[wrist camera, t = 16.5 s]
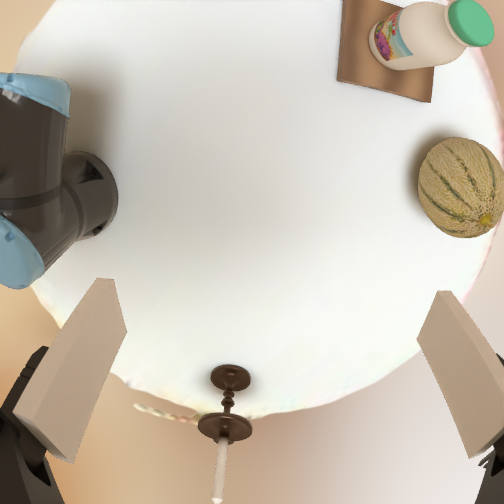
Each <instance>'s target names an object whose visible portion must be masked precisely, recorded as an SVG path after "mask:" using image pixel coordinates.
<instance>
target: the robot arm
mask: <svg viewBox="0 0 504 504" xmlns="http://www.w3.org/2000/svg"><path fill="white" fill-rule="evenodd" d="M70 96H71V89H70V86H69V84H68V83H67V82H66V81H64V80H62V79H58V78H54V77H48V76H41V75H33V74H20V73H16V74H14V73H0V283H1V284H2V285H4V286H6V287H8V288H12V289H23V288H26V287H28V286H29V285H30V284H32V283H33V282H34V281H35V280H36V279H37V278H40V277H41V276H42V275H43V274H44V273H45V271H46V270H47V269H48V268H49V267H50V266H51V265H52V264H53V263H54V262H55V261H56V260H57V259H58V258H59V257H60V256H61V255H62V254H63V253H64V252H65V251H66V250H67V249H68V248H69V247H70V246H71V245H72V244H73V243H74V242H76V241H79V240H83V239H87V238H91V237H93V236H95V235H97V234H99V233H100V232H101V231H103V230H104V229H105V228H106V227H107V226H108V225H109V224H110V222H111V221H112V219H113V218H114V216H115V213H116V210H117V204H118V193H117V187H116V183H115V180H114V178H113V176H112V174H111V172H110V170H109V169H108V167H107V166H106V165H105V164H104V163H103V162H102V161H101V160H100V159H99V158H97V157H96V156H94V155H92V154H90V153H86V152H72V153H69V154H67V155H64V151H65V140H66V131H67V122H68V119H69V118H70V114H69V105H70ZM126 333H127V330H126V327H125V323H124V319H123V316H122V312H121V308H120V304H119V300H118V296H117V292H116V288H115V283H114V279H103V278H97V279H96V280H95V282H94V283H93V284H92V286H91V287H90V288H89V290H88V291H87V293H86V294H85V295H84V297H83V298H82V300H81V301H80V302H79V304H78V305H77V307H76V308H75V310H74V311H73V312H72V314H71V315H70V317H69V318H68V320H67V321H66V323H65V324H64V326H63V327H62V329H61V330H60V332H59V333H58V335H57V336H56V338H55V340H54V341H53V343H52V344H51V346H50V347H46V346H42V347H41V348H39V349H38V350H37V351H36V352H35V353H33V354H32V356H31V357H30V359H29V361H28V362H27V364H26V367H25V368H24V369H23V370H22V372H21V373H20V377H18V378H17V380H16V382H15V383H14V385H13V387H12V389H11V390H10V392H9V394H8V396H7V398H6V399H5V401H4V403H3V405H2V407H1V408H0V504H65V503H64V501H63V499H62V496H61V494H60V492H59V489H58V487H57V484H56V482H55V479H54V477H53V474H52V472H51V469H50V466H49V463H48V461H47V459H46V457H45V453H46V450H48V451H49V452H50V453H51V454H52V455H53V456H54V457H56V458H59V459H61V460H64V461H67V462H69V463H72V464H74V461H75V458H76V455H77V452H78V449H79V447H80V444H81V441H82V438H83V436H84V433H85V430H86V428H87V425H88V422H89V420H90V417H91V414H92V412H93V409H94V407H95V404H96V401H97V399H98V397H99V394H100V392H101V390H102V387H103V385H104V382H105V380H106V378H107V375H108V373H109V371H110V368H111V366H112V364H113V362H114V359H115V357H116V355H117V353H118V350H119V348H120V346H121V344H122V341H123V339H124V337H125V335H126ZM417 341H418V343H419V345H420V347H421V349H422V351H423V353H424V355H425V357H426V359H427V361H428V363H429V365H430V367H431V369H432V371H433V373H434V376H435V378H436V380H437V382H438V384H439V386H440V389H441V391H442V393H443V395H444V398H445V400H446V402H447V404H448V407H449V409H450V411H451V414H452V416H453V419H454V421H455V423H456V426H457V428H458V431H459V433H460V436H461V439H462V441H463V444H464V447H465V449H466V452H467V455H468V458H469V459H470V458H473V457H475V456H478V455H480V454H482V453H484V452H485V451H486V450H487V449H488V448H490V447H491V446H492V445H493V446H494V450H493V451H492V452H491V453H490V454H488V455H487V456H486V457H485V458H484V459H482V460H481V461H480V463H479V465H478V466H481V465H483V464H484V463H485V462H486V461H487V460H488V463H487V464H485V465H484V467H483V468H486V471H485V475H484V478H483V481H482V484H481V488H480V490H479V493H478V496H477V499H476V501H475V504H504V360H503V359H502V358H501V357H500V356H499V355H498V354H495V352H494V351H493V349H492V348H491V346H490V345H489V343H488V342H487V340H486V339H485V337H484V336H483V334H482V333H481V332H480V330H479V329H478V327H477V326H476V324H475V323H474V321H473V320H472V319H471V318H470V316H469V314H468V313H467V312H466V310H465V309H464V308H463V306H462V305H461V304H460V302H459V301H458V300H457V298H456V297H455V296H454V294H453V293H452V292H451V291H437V293H436V296H435V298H434V301H433V303H432V306H431V308H430V310H429V313H428V315H427V317H426V320H425V322H424V324H423V326H422V328H421V331H420V333H419V335H418V337H417Z"/></svg>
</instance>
